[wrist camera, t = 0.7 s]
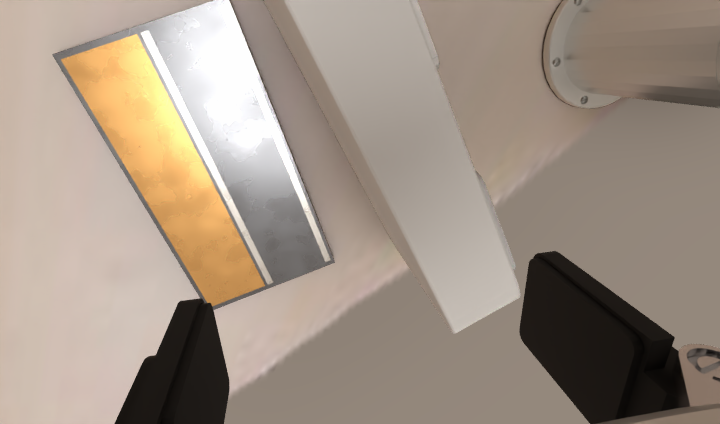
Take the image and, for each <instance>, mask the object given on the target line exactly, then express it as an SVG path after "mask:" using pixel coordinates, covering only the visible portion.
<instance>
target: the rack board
mask: <svg viewBox="0 0 720 424" xmlns="http://www.w3.org/2000/svg"><path fill="white" fill-rule="evenodd" d="M52 55H53V57H54V58H55V60H56V62H57V63H58V65H59V67H60V68H61V70H62V72H63V73H64V75H65V76H66V78H67V80H68V81H69V83H70V85H71V86H72V88H73V90H74V91H75V93H76V95H77V96H78V98H79V99H80V101H81V103H82V104H83V106H84V108H85V109H86V111H87V113H88V114H89V116H90V118H91V119H92V121H93V122H94V124H95V126H96V127H97V129H98V131H99V132H100V134H101V136H102V137H103V139H104V141H105V142H106V144H107V145H108V147H109V149H110V150H111V152H112V154H113V155H114V157H115V159H116V160H117V162H118V164H119V165H120V167H121V169H122V170H123V172H124V173H125V175H126V177H127V178H128V180H129V182H130V183H131V185H132V187H133V188H134V190H135V192H136V193H137V195H138V196H139V198H140V200H141V201H142V203H143V205H144V206H145V208H146V210H147V211H148V213H149V215H150V216H151V218H152V219H153V221H154V223H155V224H156V226H157V228H158V229H159V231H160V233H161V234H162V236H163V238H164V239H165V241H166V242H167V244H168V246H169V247H170V249H171V251H172V252H173V254H174V256H175V257H176V259H177V261H178V262H179V264H180V265H181V267H182V269H183V270H184V272H185V274H186V275H187V277H188V279H189V280H190V282H191V284H192V285H193V287H194V289H195V290H196V292H197V293H198V295H199V297H200V298H202V299H203V300H204V303H211V304H212V307H213V310H215V309H217V308H220V307H222V306H225V305H227V304H230V303H232V302H235V301H238V300H240V299H243V298H245V297H248V296H250V295H253V294H256V293H258V292H261V291H263V290H266V289H268V288H271V287H273V286H276V285H279V284H281V283H284V282H286V281H289V280H291V279H294V278H296V277H299V276H302V275H304V274H307V273H309V272H312V271H314V270H317V269H320V268H322V267H325V266H327V265H330V264H332V263H335V261H334V258H333V255H332V253H331V250H330V248H329V245H328V243H327V240H326V238H325V235H324V233H323V231H322V228H321V226H320V223H319V221H318V218H317V216H316V213H315V211H314V208H313V206H312V203H311V201H310V198H309V196H308V193H307V191H306V188H305V186H304V183H303V181H302V178H301V176H300V173H299V171H298V168H297V166H296V163H295V161H294V159H293V156H292V154H291V151H290V149H289V146H288V144H287V141H286V139H285V136H284V134H283V131H282V129H281V126H280V124H279V121H278V119H277V116H276V114H275V111H274V109H273V106H272V104H271V101H270V99H269V96H268V94H267V91H266V89H265V87H264V84H263V82H262V79H261V77H260V74H259V72H258V69H257V67H256V64H255V62H254V59H253V57H252V54H251V52H250V49H249V47H248V44H247V42H246V39H245V37H244V34H243V32H242V29H241V27H240V24H239V22H238V19H237V17H236V15H235V12H234V10H233V7H232V5H231V2H230V0H214V1H211V2H208V3H205V4H202V5H199V6H196V7H193V8H190V9H187V10H184V11H181V12H178V13H175V14H172V15H169V16H166V17H163V18H160V19H157V20H154V21H151V22H148V23H145V24H142V25H139V26H136V27H133V28H130V29H127V30H124V31H121V32H118V33H115V34H112V35H109V36H106V37H103V38H100V39H97V40H94V41H91V42H88V43H85V44H82V45H79V46H76V47H73V48H70V49H67V50H64V51H61V52H58V53H55V54H52Z"/></svg>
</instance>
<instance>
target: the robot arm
mask: <svg viewBox="0 0 720 424" xmlns="http://www.w3.org/2000/svg"><path fill="white" fill-rule="evenodd" d="M543 62H544V70H545V75H546V79H547V81H548V83H549V85H550V87H551V89H552V90H553V92H554V93H555V94H556V96H557V97H559V98H560V99H561V100H562V101H564V102H565V103H567V104H569V105H572V106H575V107H580V108H590V109H594V108H600V107H604V106H607V105H609V104H612V103H614V102H615V101H617V100H619V99H621V98H622V97H628V98H637V99H645V100H655V101H664V102H671V103H672V102H673V103H681V104H689V105H698V106H707V107H715V108H720V0H563V1H562V3H561V4H560V5H559V7H558V9H557V10H556V12H555V14H554V15H553V18H552V20H551V22H550V25H549V27H548V30H547V34H546V38H545V42H544V51H543ZM520 336H521V339H522V341H523V342H524V344H525V345H526V346H527V347H528V349H529V350H530V351H531V352H532V354H533V355H534V356H535V357H536V358H537V360H538V361H539V362H540V363H541V364H542V366H543V367H544V368H545V369H546V370H547V372H548V373H549V374H550V375H551V376H552V378H553V379H554V380H555V381H556V383H557V384H558V385H559V386H560V388H561V389H562V390H563V391H564V392H565V394H566V395H567V396H568V397H569V398H570V400H571V401H572V402H573V403H574V405H576V407H577V408H578V409H579V411H580V412H581V413H582V414H583V415H584V417H585V418H586V419H587V420H588V422H589V423H590V424H720V348H716V347H713V346H709V345H704V344H688V345H684V346H682V347H681V348H680V349H679V351H677V350H676V349H674V348H673V347H672V344H673V341H674V336H672V335H671V334H669V333H668V332H667V331H665V330H664V329H662V328H661V327H660V326H658V325H657V324H656V323H654V322H653V321H652V320H650V319H649V318H648V317H646V316H645V315H643V314H642V313H640V312H639V311H638V310H637V309H635V308H634V307H632V306H631V305H630V304H628V303H627V302H626V301H624V300H623V299H622V298H620V297H619V296H617V295H616V294H615V293H613V292H612V291H611V290H609V289H608V288H606V287H605V286H604V285H602V284H601V283H600V282H598V281H597V280H596V279H594V278H593V277H591V276H590V275H589V274H587V273H586V272H585V271H583V270H582V269H580V268H579V267H578V266H576V265H575V264H574V263H572V262H571V261H569V260H568V259H567V258H565V257H564V256H563V255H561V254H560V253H558V252H556V251H552V252H545V253H538V254H536V255H535V256H534V258H533V259H531V260H530V262H529V267H528V274H527V282H526V288H525V295H524V302H523V309H522V316H521V323H520ZM228 395H229V377H228V372H227V368H226V364H225V359H224V355H223V351H222V346H221V342H220V338H219V333H218V329H217V325H216V320H215V316H214V311H213V307H212V304H211V303H204V300H203V299H202V298H201V299H193V300H186V301H180V302H179V303H178V305H177V307H176V310H175V312H174V314H173V317H172V319H171V321H170V324H169V326H168V328H167V331H166V333H165V335H164V338H163V340H162V342H161V345H160V347H159V349H158V352H157V354H156V355H155V356H148V357H147V358H146V359H145V360H144V362H143V363H142V365H141V367H140V370H139V372H138V374H137V376H136V378H135V380H134V383H133V385H132V387H131V389H130V391H129V393H128V396H127V398H126V400H125V402H124V404H123V407H122V409H121V411H120V413H119V415H118V417H117V420H116V422H115V424H224V419H225V413H226V407H227V401H228Z"/></svg>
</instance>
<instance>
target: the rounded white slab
mask: <svg viewBox="0 0 720 424" xmlns="http://www.w3.org/2000/svg"><path fill="white" fill-rule="evenodd" d="M263 1H264V3H265V5H266V7H267V9H268V10H269V12H270V14H271V16H272V18H273V20H274V22H275V24H276V25H277V27H278V29H279V31H280V33H281V35H282V37H283V39H284V40H285V42H286V44H287V46H288V48H289V50H290V52H291V54H292V55H293V57H294V59H295V61H296V63H297V65H298V67H299V69H300V70H301V72H302V74H303V76H304V78H305V80H306V82H307V84H308V85H309V87H310V89H311V91H312V93H313V95H314V97H315V99H316V101H317V102H318V104H319V106H320V108H321V110H322V112H323V114H324V116H325V117H326V119H327V121H328V123H329V125H330V127H331V129H332V131H333V132H334V134H335V136H336V138H337V140H338V142H339V144H340V146H341V147H342V149H343V151H344V153H345V155H346V157H347V159H348V161H349V162H350V164H351V166H352V168H353V170H354V172H355V174H356V176H357V177H358V179H359V181H360V183H361V185H362V187H363V189H364V191H365V192H366V194H367V196H368V198H369V200H370V202H371V204H372V206H373V208H374V209H375V211H376V213H377V215H378V217H379V219H380V221H381V222H382V224H383V226H384V228H385V230H386V232H387V233H388V235H389V237H390V239H391V240H392V242H393V244H394V245H395V247H396V248H397V250H398V251H399V253H400V255H401V256H402V258H403V259H404V261H405V262H406V264H407V265H408V267H409V268H410V270H411V271H412V273H413V274H414V276H415V278H416V279H417V281H418V282H419V284H420V285H421V287H422V288H423V290H424V291H425V293H426V295H427V296H428V298H429V299H430V301H431V302H432V304H433V305H434V307H435V308H436V310H437V311H438V313H439V314H440V316H441V317H442V319H443V321H444V322H445V324H446V325H447V327H448V328H449V329H450V331H451V332H452V333H457V332H459V331H460V330H462V329H464V328H466V327H467V326H469V325H471V324H473V323H475V322H476V321H478V320H480V319H482V318H484V317H485V316H487V315H489V314H491V313H493V312H494V311H496V310H498V309H500V308H501V307H503V306H505V305H507V304H509V303H510V302H512V301H514V300H516V299H518V298H519V297H520V291H519V286H518V283H517V280H516V277H515V275H514V272H513V270H514V269H516V265H515V263H514V260H513V257H512V255H511V252H510V249H509V247H508V244H507V241H506V238H505V236H504V233H503V230H502V228H501V225H500V222H499V220H498V217H497V214H496V211H495V209H494V206H493V203H492V201H491V198H490V195H489V193H488V190H487V187H486V184H485V182H484V181H483V179H482V177H481V176H480V175H479V174H478V173H477V172H476V171H475V169H474V166H473V163H472V161H471V158H470V155H469V153H468V150H467V147H466V145H465V142H464V140H463V137H462V134H461V132H460V129H459V126H458V124H457V121H456V118H455V116H454V113H453V110H452V108H451V105H450V102H449V100H448V97H447V94H446V92H445V89H444V87H443V84H442V81H441V79H440V76H439V73H438V71H437V70H438V68H439V58H438V55H437V52H436V49H435V47H434V44H433V41H432V39H431V36H430V33H429V30H428V28H427V25H426V22H425V20H424V17H423V14H422V12H421V9H420V6H419V4H418V1H417V0H263Z"/></svg>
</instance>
